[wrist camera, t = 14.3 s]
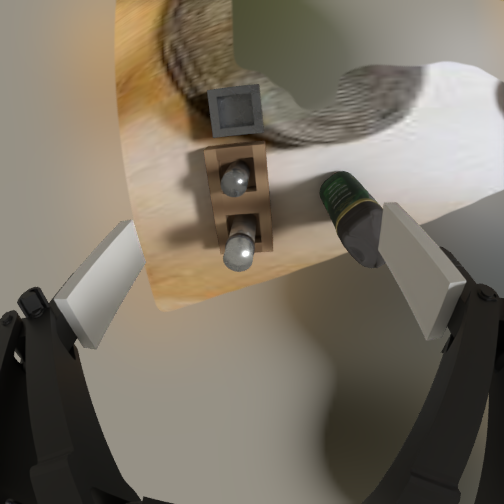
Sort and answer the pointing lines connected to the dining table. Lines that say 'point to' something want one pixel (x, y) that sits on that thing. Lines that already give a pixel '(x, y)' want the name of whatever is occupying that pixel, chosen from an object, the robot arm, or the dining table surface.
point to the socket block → (236, 110)
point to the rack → (250, 201)
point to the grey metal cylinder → (240, 243)
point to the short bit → (235, 179)
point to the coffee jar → (354, 217)
